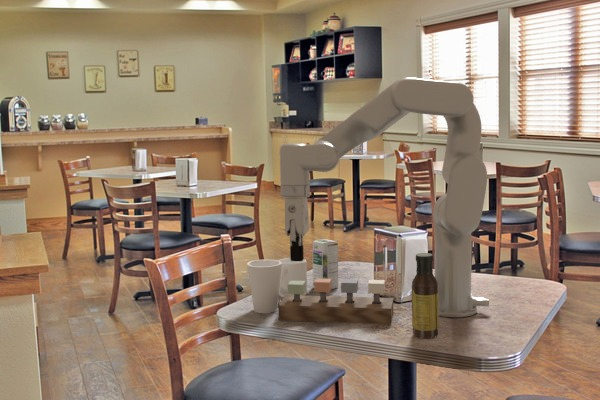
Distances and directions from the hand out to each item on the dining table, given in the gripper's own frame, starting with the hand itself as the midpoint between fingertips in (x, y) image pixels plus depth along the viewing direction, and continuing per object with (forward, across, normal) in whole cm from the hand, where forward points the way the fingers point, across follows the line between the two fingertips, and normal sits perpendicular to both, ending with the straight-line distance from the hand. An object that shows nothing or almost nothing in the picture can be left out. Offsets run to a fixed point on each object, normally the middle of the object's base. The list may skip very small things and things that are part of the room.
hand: (297, 260), depth 196 cm
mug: (+15, +18, +6) cm, 24 cm away
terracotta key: (+11, 0, -7) cm, 13 cm away
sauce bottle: (+15, -13, -33) cm, 39 cm away
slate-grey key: (+11, 0, -14) cm, 18 cm away
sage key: (+12, 0, 0) cm, 12 cm away
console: (+15, 0, -10) cm, 18 cm away
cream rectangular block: (+11, 0, -21) cm, 23 cm away
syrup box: (+15, +29, -3) cm, 33 cm away
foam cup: (+15, +4, +10) cm, 18 cm away
